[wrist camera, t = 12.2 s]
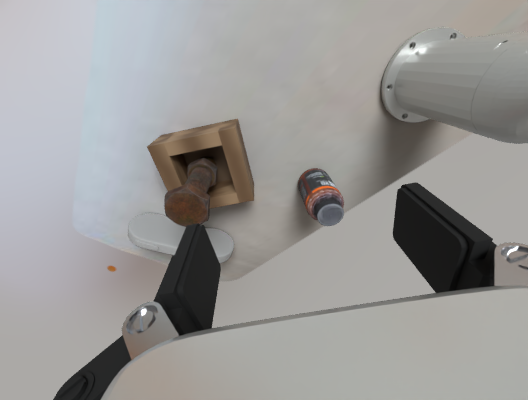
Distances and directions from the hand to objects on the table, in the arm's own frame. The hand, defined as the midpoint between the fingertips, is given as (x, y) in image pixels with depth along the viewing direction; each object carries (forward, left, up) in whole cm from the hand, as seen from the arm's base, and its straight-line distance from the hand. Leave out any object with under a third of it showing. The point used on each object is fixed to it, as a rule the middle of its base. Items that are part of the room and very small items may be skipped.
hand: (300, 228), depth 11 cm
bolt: (+12, +6, -30) cm, 33 cm away
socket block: (+12, +6, -30) cm, 33 cm away
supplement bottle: (-6, +14, -31) cm, 34 cm away
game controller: (+20, +19, -31) cm, 41 cm away
